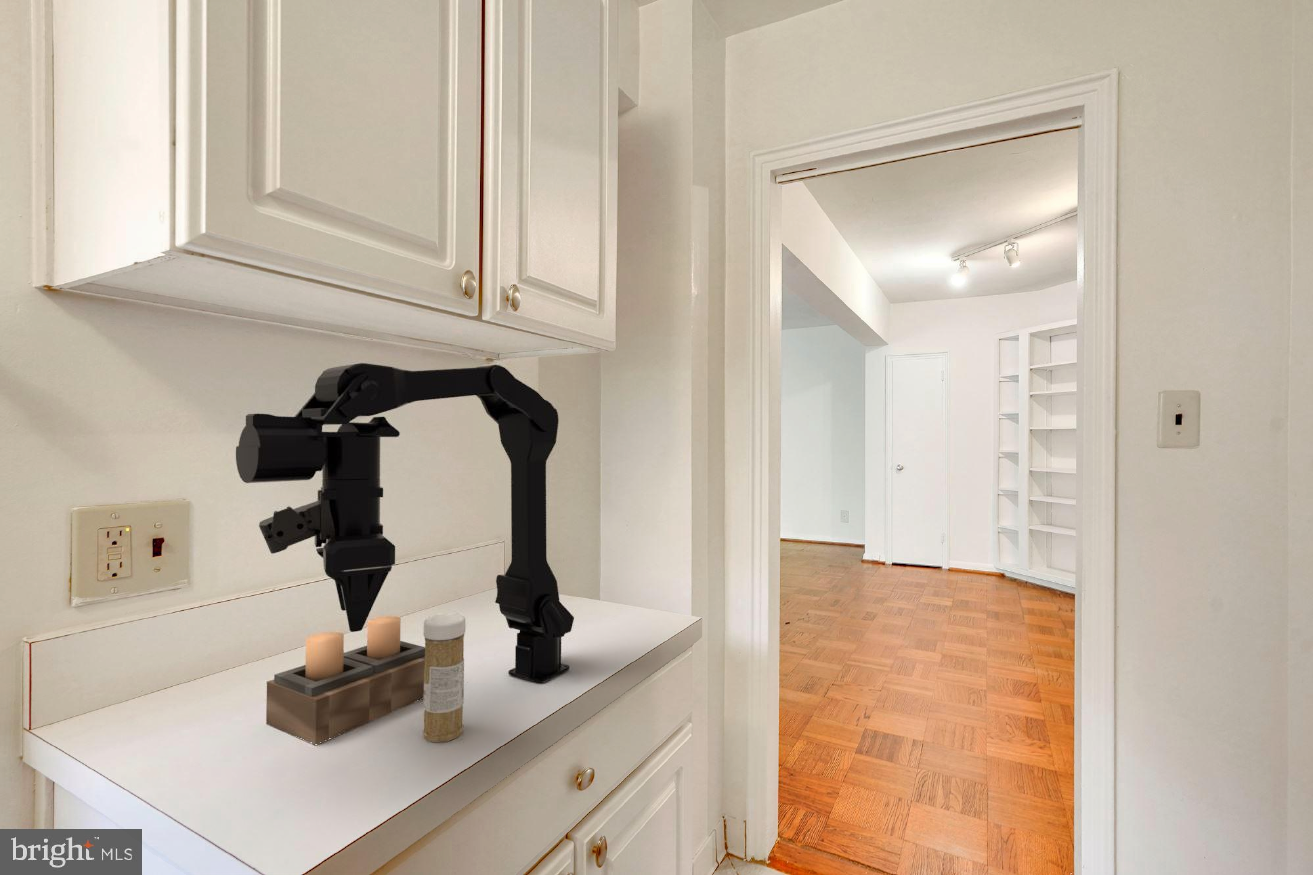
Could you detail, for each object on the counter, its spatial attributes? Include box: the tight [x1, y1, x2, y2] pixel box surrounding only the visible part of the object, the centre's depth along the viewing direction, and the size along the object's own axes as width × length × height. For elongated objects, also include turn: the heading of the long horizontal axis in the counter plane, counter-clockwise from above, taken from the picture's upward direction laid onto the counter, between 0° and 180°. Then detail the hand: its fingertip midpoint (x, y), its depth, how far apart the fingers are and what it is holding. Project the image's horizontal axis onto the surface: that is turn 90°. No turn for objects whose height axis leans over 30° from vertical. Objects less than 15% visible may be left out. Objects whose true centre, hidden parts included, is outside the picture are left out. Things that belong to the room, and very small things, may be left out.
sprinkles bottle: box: [422, 612, 466, 743], centre depth 70 cm, size 5×5×14 cm
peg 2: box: [366, 615, 402, 660], centre depth 80 cm, size 4×4×6 cm
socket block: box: [265, 640, 425, 745], centre depth 76 cm, size 16×10×6 cm, turn 150°
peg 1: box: [305, 631, 345, 682], centre depth 73 cm, size 4×4×6 cm
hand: (350, 619), depth 67 cm, fingers open, 9 cm apart
